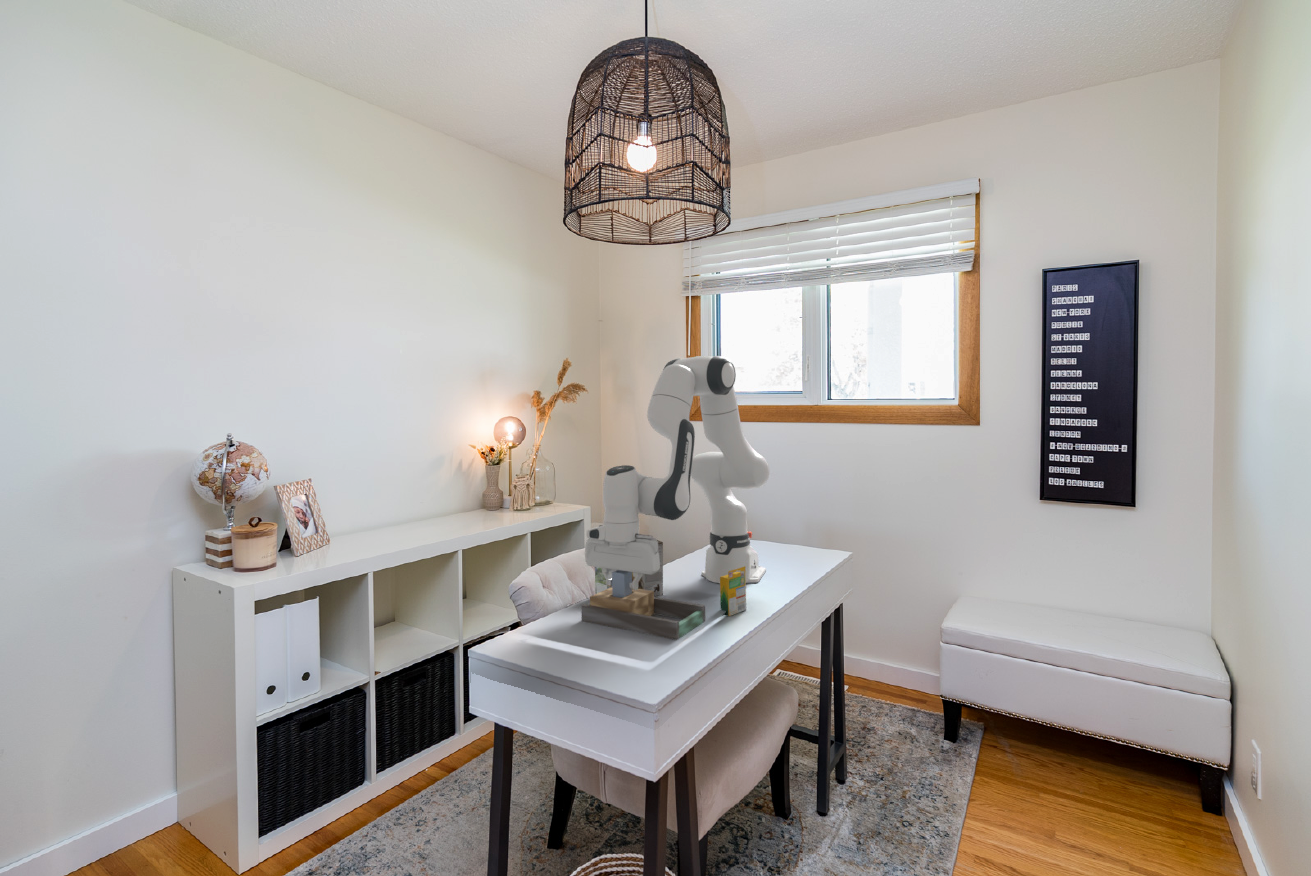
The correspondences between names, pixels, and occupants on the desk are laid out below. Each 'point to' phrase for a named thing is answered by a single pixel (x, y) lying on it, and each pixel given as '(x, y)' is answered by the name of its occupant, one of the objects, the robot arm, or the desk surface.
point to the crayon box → (733, 592)
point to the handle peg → (621, 583)
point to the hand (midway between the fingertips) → (622, 587)
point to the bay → (650, 618)
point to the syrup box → (601, 580)
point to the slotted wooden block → (626, 601)
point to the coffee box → (653, 576)
